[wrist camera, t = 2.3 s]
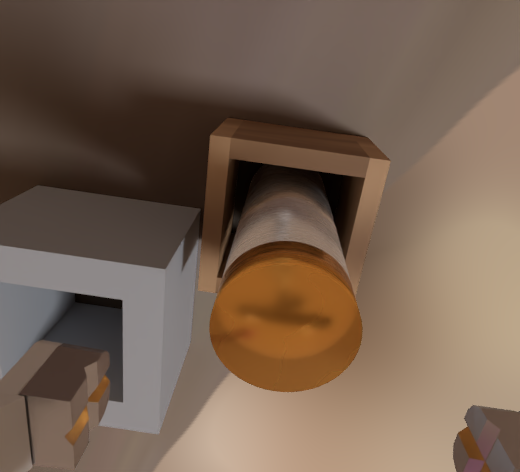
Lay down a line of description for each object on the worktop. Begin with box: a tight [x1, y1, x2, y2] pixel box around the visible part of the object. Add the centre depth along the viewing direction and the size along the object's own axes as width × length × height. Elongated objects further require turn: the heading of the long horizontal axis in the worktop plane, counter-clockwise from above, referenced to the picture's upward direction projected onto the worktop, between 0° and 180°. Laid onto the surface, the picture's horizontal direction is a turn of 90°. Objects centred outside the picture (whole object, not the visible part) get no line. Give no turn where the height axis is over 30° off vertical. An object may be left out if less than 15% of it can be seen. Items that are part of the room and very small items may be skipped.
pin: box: [210, 164, 362, 392], centre depth 16 cm, size 4×4×12 cm
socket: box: [0, 185, 201, 434], centre depth 21 cm, size 9×9×7 cm
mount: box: [198, 118, 391, 295], centre depth 19 cm, size 7×7×5 cm
